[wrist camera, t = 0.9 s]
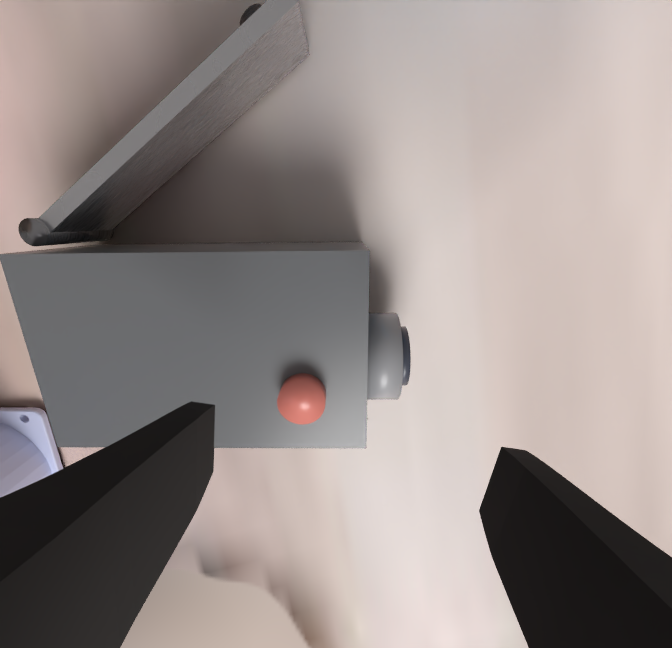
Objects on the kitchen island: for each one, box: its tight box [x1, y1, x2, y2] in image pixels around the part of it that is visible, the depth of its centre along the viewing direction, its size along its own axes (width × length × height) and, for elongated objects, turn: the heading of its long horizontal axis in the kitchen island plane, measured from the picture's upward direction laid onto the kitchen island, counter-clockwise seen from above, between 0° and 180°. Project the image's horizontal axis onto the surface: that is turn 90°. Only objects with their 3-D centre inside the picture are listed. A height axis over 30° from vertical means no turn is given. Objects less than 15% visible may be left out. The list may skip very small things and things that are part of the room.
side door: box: [19, 0, 310, 246], centre depth 13 cm, size 13×2×4 cm, turn 126°
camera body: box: [0, 242, 410, 448], centre depth 15 cm, size 15×8×6 cm, turn 91°
